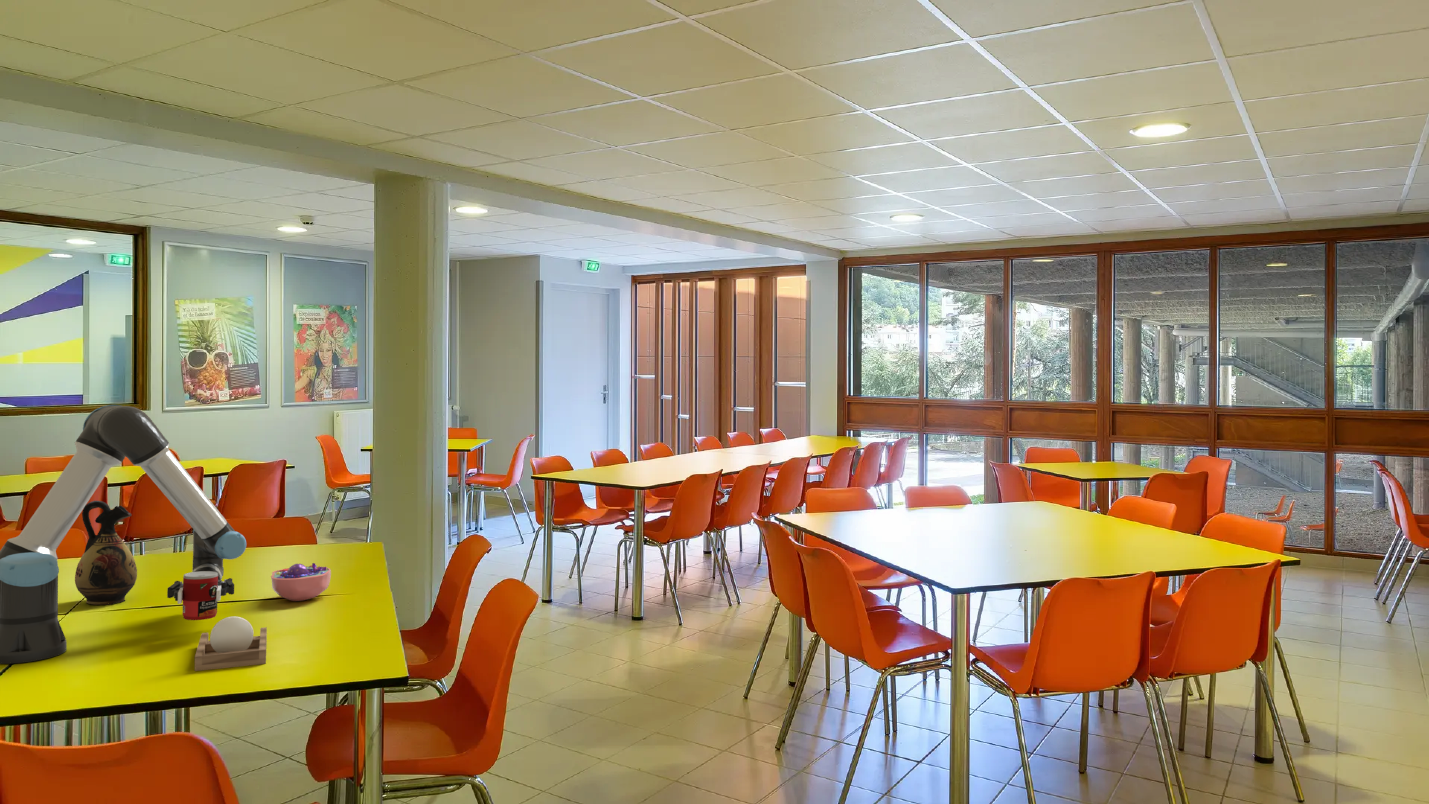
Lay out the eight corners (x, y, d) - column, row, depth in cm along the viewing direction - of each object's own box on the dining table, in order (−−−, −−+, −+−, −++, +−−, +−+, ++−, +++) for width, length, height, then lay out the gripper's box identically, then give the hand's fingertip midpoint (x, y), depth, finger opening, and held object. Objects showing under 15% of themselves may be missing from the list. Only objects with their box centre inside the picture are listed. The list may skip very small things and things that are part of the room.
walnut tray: (265, 663, 213) (265, 649, 213) (194, 671, 207) (194, 656, 207) (266, 639, 233) (266, 627, 233) (201, 646, 227) (201, 633, 227)
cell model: (341, 591, 289) (341, 555, 289) (316, 606, 269) (316, 568, 269) (287, 591, 289) (287, 555, 289) (257, 606, 269) (257, 568, 269)
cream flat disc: (253, 653, 217) (253, 615, 217) (209, 658, 213) (210, 619, 213) (253, 652, 218) (253, 614, 218) (210, 656, 214) (210, 618, 214)
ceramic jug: (142, 594, 282) (142, 497, 282) (130, 605, 268) (131, 503, 268) (76, 598, 276) (77, 498, 276) (61, 610, 262) (61, 505, 261)
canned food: (202, 621, 230) (203, 577, 230) (174, 619, 232) (175, 575, 232) (224, 614, 238) (225, 572, 238) (197, 612, 239) (198, 570, 239)
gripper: (247, 591, 255) (244, 608, 235) (161, 596, 246) (150, 615, 226) (247, 564, 255) (245, 579, 235) (161, 568, 246) (151, 584, 226)
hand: (199, 597), depth 230 cm, fingers closed on canned food, 8 cm apart
